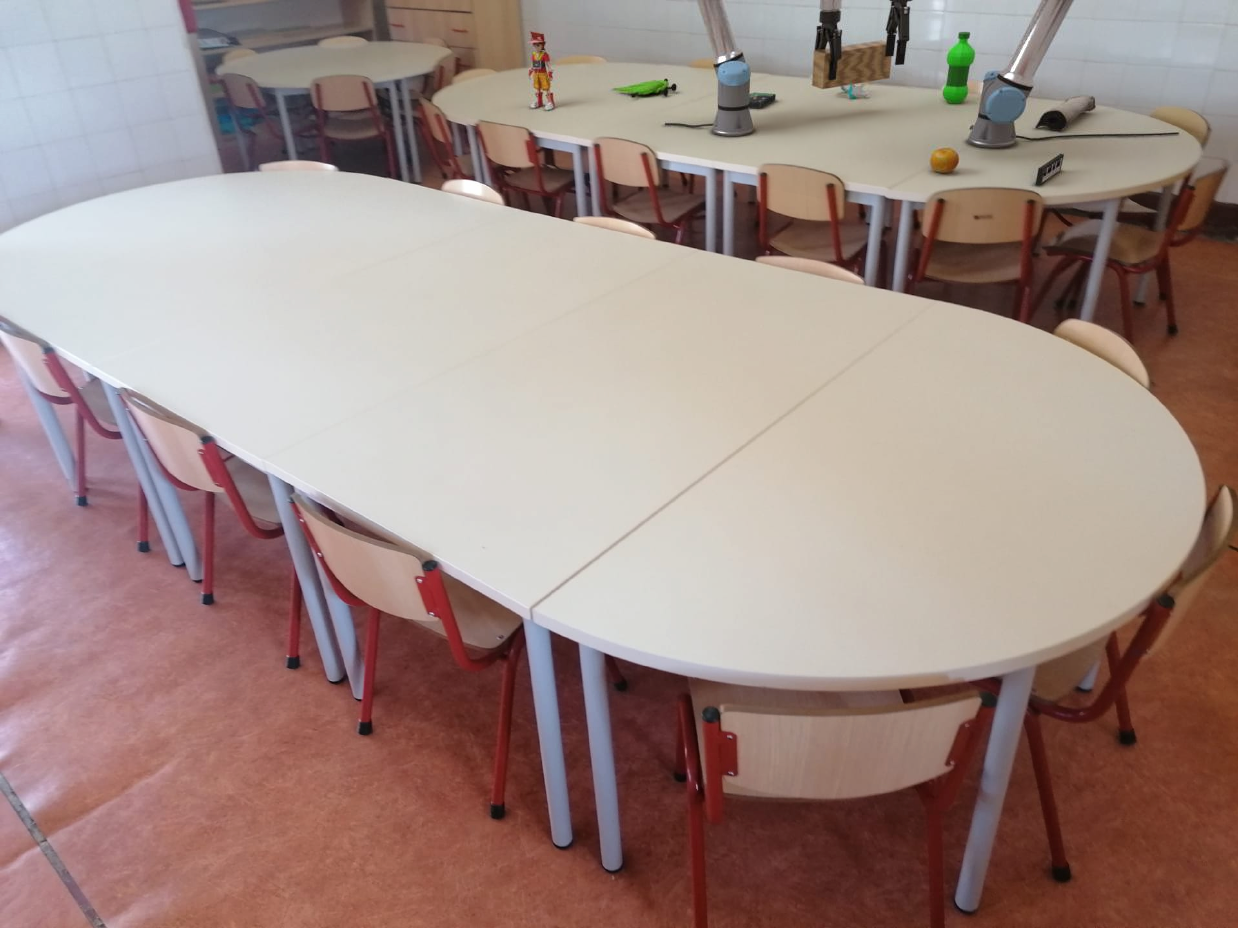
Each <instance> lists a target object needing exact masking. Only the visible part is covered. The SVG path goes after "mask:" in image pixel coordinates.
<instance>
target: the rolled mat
mask: <svg viewBox="0 0 1238 928" xmlns="http://www.w3.org/2000/svg"><path fill="white" fill-rule="evenodd" d="M1096 107H1097V106H1096V98H1095V96H1094V95H1085V94H1084V95H1077V96H1071V97H1068V98H1066V99H1065V101H1064V102H1062V103H1060V104H1059V105H1056V106H1054V107H1052V108H1051V109H1049V110H1047V111H1045V112H1044V113H1043V114H1042V115H1041V116H1040V118H1039V120H1038V122H1037V124H1036V125H1035V129H1038V128H1041V127H1046V128H1048V130H1052V131H1056V132H1057V131H1058V132H1062V131H1063V130H1065V129H1066V128H1067V127H1068V126H1069V125H1070V124H1071V123H1072V122H1073V120H1075V119H1076V118H1077V117H1079V116H1080V115H1081V114H1082V113H1087V112H1092V111H1094V110H1095V109H1096Z"/></svg>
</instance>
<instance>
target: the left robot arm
mask: <svg viewBox="0 0 1238 928" xmlns="http://www.w3.org/2000/svg"><path fill="white" fill-rule="evenodd" d="M842 1H843V0H820V1H819V10H820V12H819V20H818V21H819V23H820V24H821V25H817V26H816V35H815V42H814V50H813V52H814V51H815V50H822V49H827V45H829V46H828V48H830V53H831V60H829V61H830V65H829V80H835V79H836V71H837V61H838V60H840V59H841V58H842V47H841V46H842V35H843V29H839V28H838V23H840V22H841V17H842V10H841V9H842ZM696 2H697V5H698V8H699V13H700V15H701V18H702V21H703V24H704V27H705V30H706V33H707V36H708V41H709V43H710V46H711V49H712V52H713V55H714V58H713V61H712V65H713V69H714V72H715V75H716V78H717V111H716V114H715V118H714V120H713V123H703V124H687V123H681V122H677V123H676V122H665V123H664V126H683V127H687V128H701V127H712V133H713V134H715V135H717V136H721V137H741V136H746V135H750V134H752V133H754V122H753V118H752V115H751V111H750V108H749V96H750V94H751V93H750V90H751V77H752V76H751V75H752V73H751V67H750V65H749V64H748V63H747V62H746V58H745V55H744V52H743V49H741V48H739V47H738V46H737V44H736V40H735V37H734V34H733V30H732V27H731V24H730V20H729V18H728V14H727V11H726V8H725V4H724V2H723V0H696Z"/></svg>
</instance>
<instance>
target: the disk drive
mask: <svg viewBox="0 0 1238 928" xmlns="http://www.w3.org/2000/svg"><path fill="white" fill-rule="evenodd" d="M776 97H777V95H776V93H767V92H751V93H750V96H749V109H750V108H751V109H763V108H764V107H766V106H767V105H769V104H771V103H773V102H775V101H776V99H777V98H776Z"/></svg>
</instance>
